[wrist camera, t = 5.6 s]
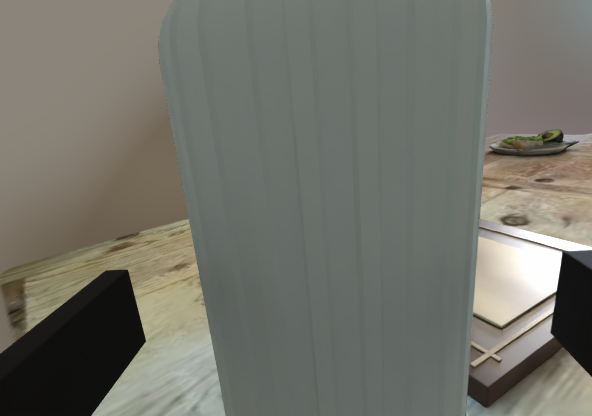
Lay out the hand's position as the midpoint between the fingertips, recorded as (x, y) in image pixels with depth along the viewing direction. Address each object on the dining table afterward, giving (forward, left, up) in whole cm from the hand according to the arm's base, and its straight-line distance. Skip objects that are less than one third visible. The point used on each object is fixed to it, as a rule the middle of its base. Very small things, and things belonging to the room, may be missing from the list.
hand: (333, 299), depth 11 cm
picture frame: (+23, +10, -12) cm, 28 cm away
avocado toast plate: (+93, +41, -12) cm, 102 cm away
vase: (+3, +4, -12) cm, 13 cm away
